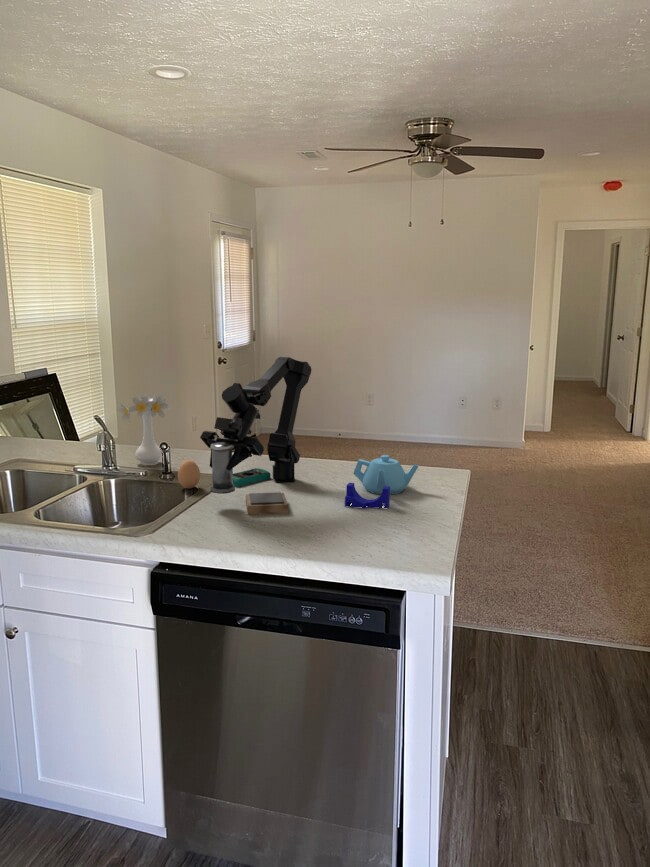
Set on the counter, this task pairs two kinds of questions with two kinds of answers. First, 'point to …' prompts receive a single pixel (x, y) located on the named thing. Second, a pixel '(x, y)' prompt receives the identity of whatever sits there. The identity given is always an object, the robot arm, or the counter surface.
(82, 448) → the counter surface
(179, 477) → the egg
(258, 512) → the stand
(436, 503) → the counter surface
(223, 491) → the grey plastic cylinder
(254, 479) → the digital multimeter
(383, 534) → the counter surface
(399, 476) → the teapot
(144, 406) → the flower vase
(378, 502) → the cable clip
